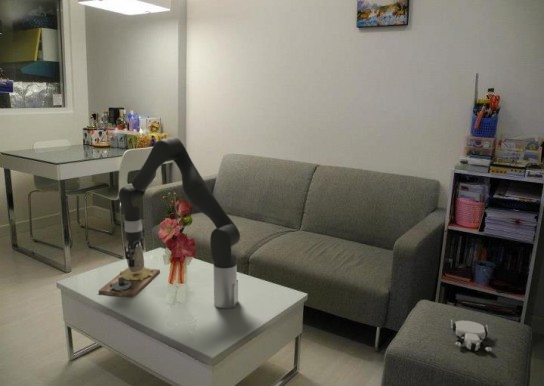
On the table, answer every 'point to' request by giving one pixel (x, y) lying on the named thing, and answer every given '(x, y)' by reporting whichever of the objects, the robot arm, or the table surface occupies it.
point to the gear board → (129, 282)
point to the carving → (137, 260)
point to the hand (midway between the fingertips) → (135, 263)
